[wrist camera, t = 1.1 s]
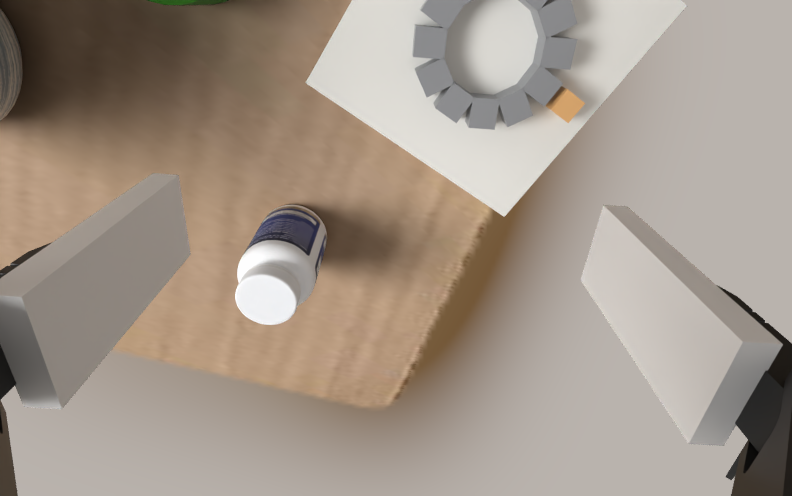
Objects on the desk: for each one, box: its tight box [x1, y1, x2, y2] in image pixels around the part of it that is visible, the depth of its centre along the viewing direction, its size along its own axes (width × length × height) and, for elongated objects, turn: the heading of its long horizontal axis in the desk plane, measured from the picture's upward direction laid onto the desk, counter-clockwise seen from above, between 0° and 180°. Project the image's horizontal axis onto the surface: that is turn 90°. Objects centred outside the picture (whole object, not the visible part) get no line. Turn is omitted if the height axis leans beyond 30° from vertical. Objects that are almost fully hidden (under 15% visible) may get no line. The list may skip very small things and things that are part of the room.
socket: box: [306, 0, 687, 216], centre depth 30 cm, size 18×18×2 cm
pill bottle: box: [235, 205, 327, 325], centre depth 34 cm, size 5×5×10 cm
